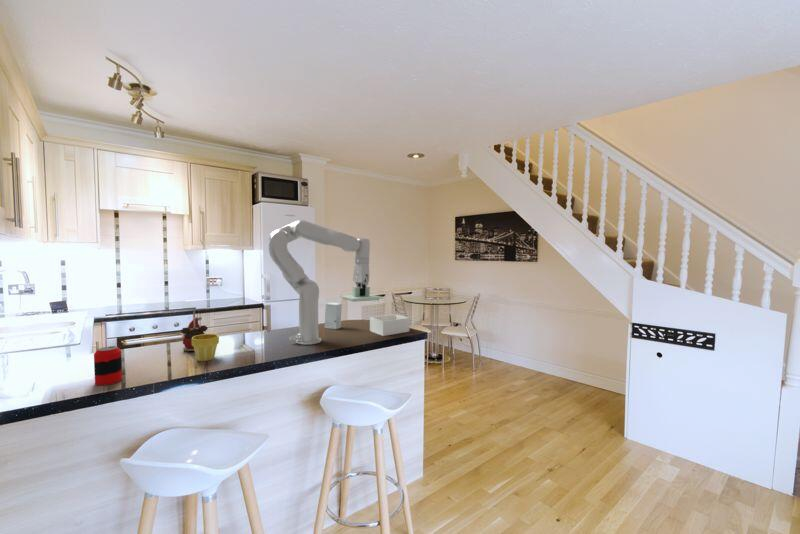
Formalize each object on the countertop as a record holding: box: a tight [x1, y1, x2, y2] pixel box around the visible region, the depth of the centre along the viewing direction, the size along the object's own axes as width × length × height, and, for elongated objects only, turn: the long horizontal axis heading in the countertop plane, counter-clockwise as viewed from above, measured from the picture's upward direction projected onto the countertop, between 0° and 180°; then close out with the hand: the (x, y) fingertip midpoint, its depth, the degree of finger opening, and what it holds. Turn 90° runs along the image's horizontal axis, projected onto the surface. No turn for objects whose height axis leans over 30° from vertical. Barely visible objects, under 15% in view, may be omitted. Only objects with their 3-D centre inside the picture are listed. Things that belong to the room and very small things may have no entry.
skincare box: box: [324, 302, 343, 330], centre depth 216 cm, size 8×6×15 cm
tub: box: [369, 313, 410, 337], centre depth 209 cm, size 18×14×8 cm
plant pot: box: [192, 333, 220, 362], centre depth 155 cm, size 10×10×10 cm
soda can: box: [93, 345, 123, 386], centre depth 128 cm, size 8×8×12 cm
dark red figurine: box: [180, 310, 208, 352], centre depth 169 cm, size 11×9×18 cm
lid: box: [339, 286, 384, 302], centre depth 196 cm, size 19×15×7 cm
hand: (361, 295), depth 196 cm, fingers closed on lid, 2 cm apart
